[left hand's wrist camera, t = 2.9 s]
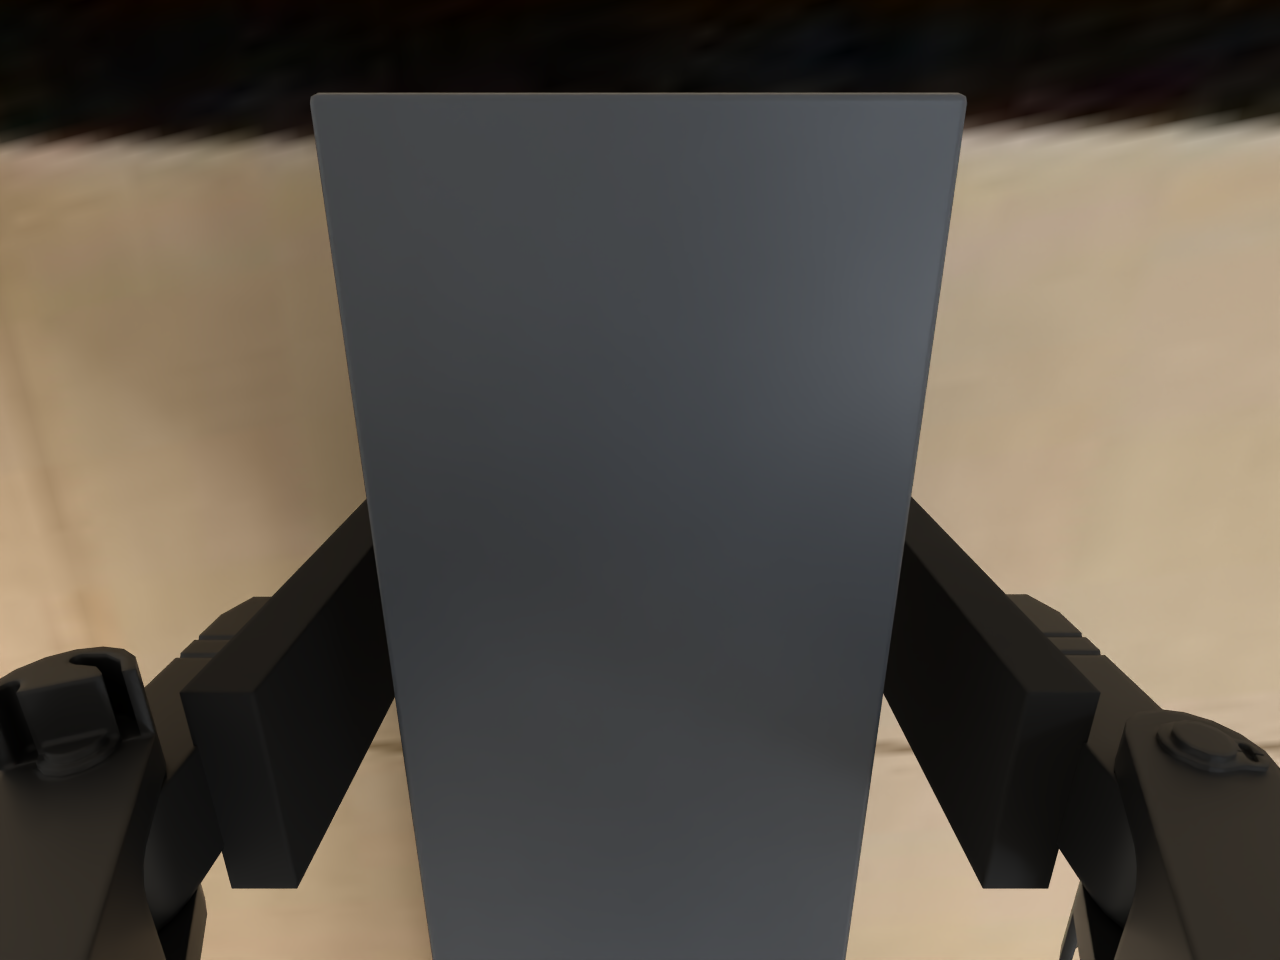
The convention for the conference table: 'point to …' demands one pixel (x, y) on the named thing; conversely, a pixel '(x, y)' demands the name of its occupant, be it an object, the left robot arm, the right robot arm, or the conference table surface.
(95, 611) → the conference table surface
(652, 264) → the beam
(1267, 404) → the conference table surface
